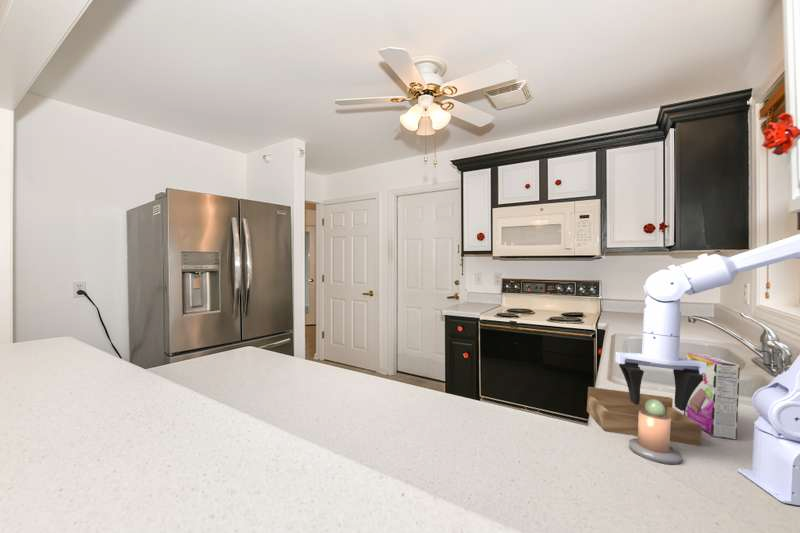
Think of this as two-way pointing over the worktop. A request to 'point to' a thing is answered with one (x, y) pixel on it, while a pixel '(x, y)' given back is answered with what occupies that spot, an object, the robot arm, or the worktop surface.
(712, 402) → the candy bar box
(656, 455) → the saucer
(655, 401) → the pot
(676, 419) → the tray
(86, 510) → the worktop surface
